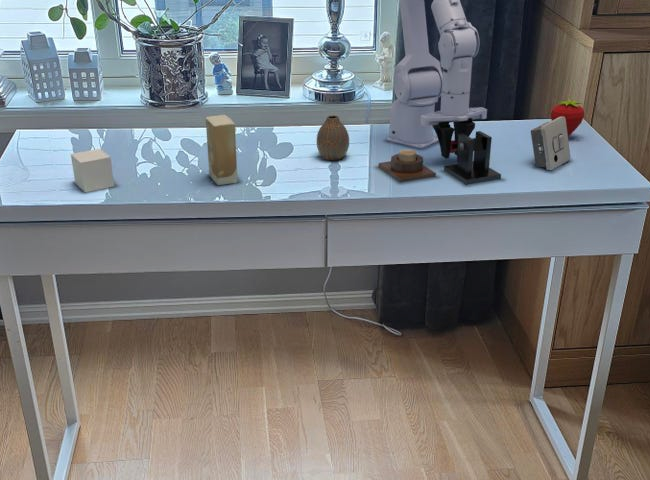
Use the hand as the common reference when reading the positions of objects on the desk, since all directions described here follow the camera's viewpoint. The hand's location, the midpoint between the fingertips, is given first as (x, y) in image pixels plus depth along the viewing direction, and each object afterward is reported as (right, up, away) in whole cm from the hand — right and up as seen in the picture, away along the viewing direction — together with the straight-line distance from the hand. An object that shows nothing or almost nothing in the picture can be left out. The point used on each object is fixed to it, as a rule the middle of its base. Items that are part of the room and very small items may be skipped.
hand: (451, 156), depth 189 cm
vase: (-25, 0, +4) cm, 25 cm away
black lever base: (+3, -5, -6) cm, 8 cm away
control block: (-10, -4, -4) cm, 11 cm away
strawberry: (+27, +7, +15) cm, 32 cm away
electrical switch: (+20, -2, 0) cm, 21 cm away
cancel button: (-10, -2, -6) cm, 11 cm away
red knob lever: (+2, 0, -5) cm, 5 cm away
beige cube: (-72, -8, -10) cm, 73 cm away
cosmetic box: (-47, -7, -8) cm, 48 cm away
